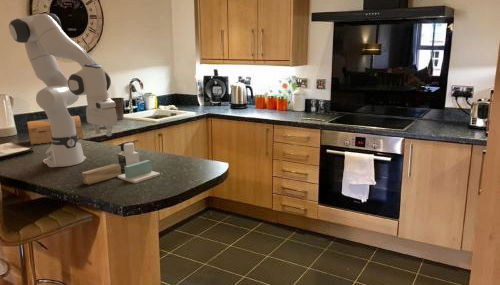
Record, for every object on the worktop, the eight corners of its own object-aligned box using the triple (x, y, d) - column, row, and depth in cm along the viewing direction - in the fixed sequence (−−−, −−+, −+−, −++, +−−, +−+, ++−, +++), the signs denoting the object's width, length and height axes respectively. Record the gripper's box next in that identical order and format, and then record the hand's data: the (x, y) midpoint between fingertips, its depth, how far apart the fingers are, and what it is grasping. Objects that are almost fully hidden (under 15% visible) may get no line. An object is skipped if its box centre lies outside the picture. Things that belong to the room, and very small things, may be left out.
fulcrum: (117, 177, 184) (116, 164, 183) (142, 170, 194) (141, 157, 192) (135, 183, 176) (133, 169, 174) (160, 175, 185) (159, 162, 184)
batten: (83, 183, 179) (82, 172, 178) (116, 173, 191) (115, 163, 190) (88, 185, 177) (86, 174, 176) (121, 175, 188) (120, 164, 187)
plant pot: (123, 120, 325) (120, 100, 321) (102, 121, 325) (99, 100, 321) (128, 117, 341) (126, 97, 337) (108, 117, 340) (106, 98, 337)
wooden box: (80, 134, 281) (77, 114, 277) (83, 139, 266) (80, 117, 263) (30, 141, 267) (26, 119, 264) (30, 146, 253) (27, 123, 250)
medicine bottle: (119, 167, 200) (116, 143, 197) (132, 164, 204) (130, 140, 202) (126, 170, 195) (123, 145, 192) (140, 167, 199) (137, 142, 197)
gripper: (80, 102, 182) (85, 134, 185) (103, 105, 168) (108, 138, 171) (93, 100, 186) (98, 131, 189) (117, 102, 172) (122, 135, 176)
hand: (103, 134), depth 180 cm, fingers open, 8 cm apart
